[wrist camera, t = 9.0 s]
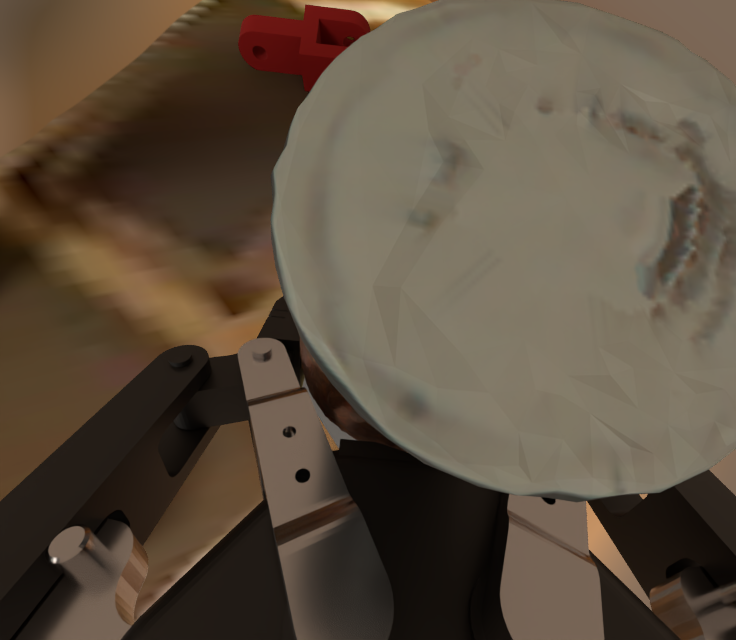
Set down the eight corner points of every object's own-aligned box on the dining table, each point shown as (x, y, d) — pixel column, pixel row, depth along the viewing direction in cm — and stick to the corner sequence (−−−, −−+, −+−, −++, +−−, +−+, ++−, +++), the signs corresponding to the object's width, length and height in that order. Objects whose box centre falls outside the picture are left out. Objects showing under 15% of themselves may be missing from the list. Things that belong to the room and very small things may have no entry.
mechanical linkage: (369, 54, 43) (371, 12, 38) (365, 99, 42) (367, 62, 37) (251, 40, 42) (238, -4, 37) (243, 85, 41) (229, 45, 36)
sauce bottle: (437, 378, 22) (1243, 373, 2) (364, 435, 21) (639, 1343, 1) (382, 303, 22) (614, -206, 3) (308, 353, 21) (-81, 93, 2)
